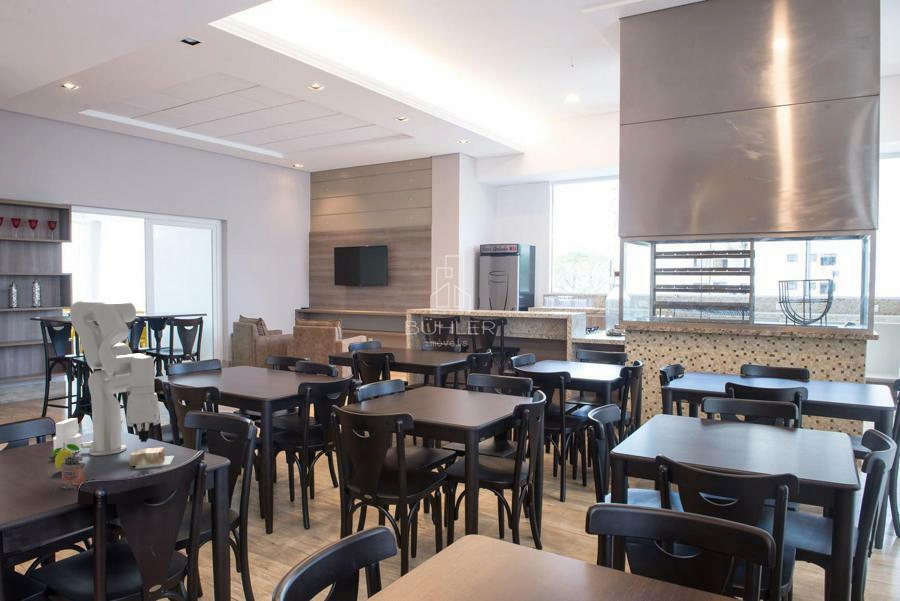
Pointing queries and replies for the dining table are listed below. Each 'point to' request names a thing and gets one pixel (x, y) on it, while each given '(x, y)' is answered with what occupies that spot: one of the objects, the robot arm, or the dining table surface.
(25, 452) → the dining table surface
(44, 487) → the dining table surface
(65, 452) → the lemon
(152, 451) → the maple block
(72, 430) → the cylinder with rectangular tab
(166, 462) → the pale green square plate
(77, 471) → the small potted plant
